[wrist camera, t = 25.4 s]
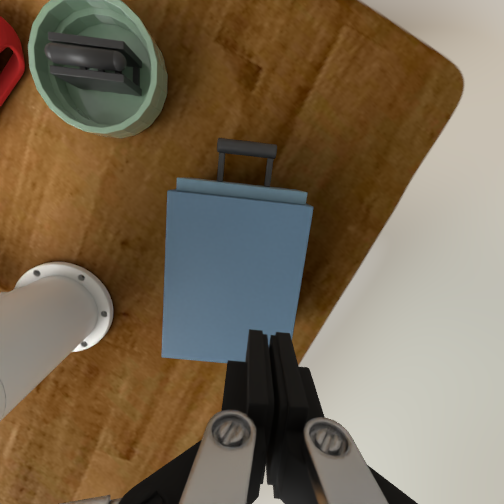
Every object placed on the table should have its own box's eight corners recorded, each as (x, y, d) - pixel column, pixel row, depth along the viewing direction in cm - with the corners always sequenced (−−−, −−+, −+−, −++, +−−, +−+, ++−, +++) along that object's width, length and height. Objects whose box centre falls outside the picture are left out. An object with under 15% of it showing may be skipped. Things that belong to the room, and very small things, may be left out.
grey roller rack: (78, 88, 31) (41, 69, 26) (76, 53, 30) (38, 26, 25) (144, 96, 31) (122, 79, 26) (144, 62, 30) (122, 36, 25)
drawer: (193, 138, 32) (178, 128, 25) (302, 151, 32) (315, 144, 26) (184, 306, 37) (170, 334, 31) (277, 316, 38) (283, 345, 31)
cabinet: (187, 187, 34) (167, 190, 26) (298, 199, 35) (313, 206, 26) (180, 318, 39) (161, 357, 30) (279, 328, 39) (287, 369, 31)
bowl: (60, 132, 33) (33, 125, 29) (53, 7, 30) (22, -21, 26) (167, 144, 33) (155, 139, 29) (171, 22, 30) (158, -2, 26)
